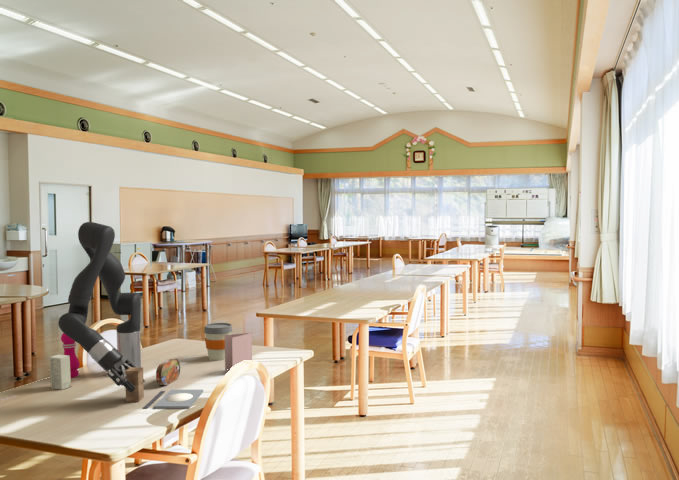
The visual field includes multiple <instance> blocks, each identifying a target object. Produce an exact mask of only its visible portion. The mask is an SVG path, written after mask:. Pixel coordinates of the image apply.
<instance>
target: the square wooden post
mask: <svg viewBox="0 0 679 480" xmlns="http://www.w3.org/2000/svg"><path fill="white" fill-rule="evenodd" d="M125 372H126V374H127V376H126V377H127V380H128V381H129V382H131V383H132V384H133V385H134V386H135V390H134V391H133V392H129V391H128V390H127V389H126V388H125V402H126V403H140V402H141V401H142V400H143V399H144V397H145V395H144V394H145V391H144V390H145V389H144V388H145V385H144V383H143V379H144V367H142V366H141V367H130V368H129V369H127V370H126V371H125Z"/></svg>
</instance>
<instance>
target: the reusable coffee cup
mask: <svg viewBox="0 0 679 480" xmlns="http://www.w3.org/2000/svg"><path fill="white" fill-rule="evenodd" d="M203 332H204V334H205V335H204V336H205V337H204V341H205V348H206V349H207V355H208V360H210V361H222V360H221V359H225V335H231V334H232V332H233V326H232V323H227V322H214V323H213V322H212V323H208V324H205V325H204V331H203Z"/></svg>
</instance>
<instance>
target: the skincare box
mask: <svg viewBox="0 0 679 480" xmlns="http://www.w3.org/2000/svg"><path fill="white" fill-rule="evenodd" d="M49 371H50V373H49V374H50V389H55V390H64V389H65V390H66V389H68V388H70V387H72V378H71V374H70V356H69V355H64V354H59V353H58V354H56V355H52V356H49Z"/></svg>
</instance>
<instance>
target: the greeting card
mask: <svg viewBox="0 0 679 480" xmlns="http://www.w3.org/2000/svg"><path fill="white" fill-rule="evenodd" d="M252 337H253V336H252V332H248V333H245V332H244V333H231V335H225V360H224V371H230V370H229V369H230V368H231V367H232V366H234V365H235V364H237V363H239V362H241V361H243V360H252V361H253V346H252V345H253V342H252V341H253V338H252ZM227 369H228V370H227Z"/></svg>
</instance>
